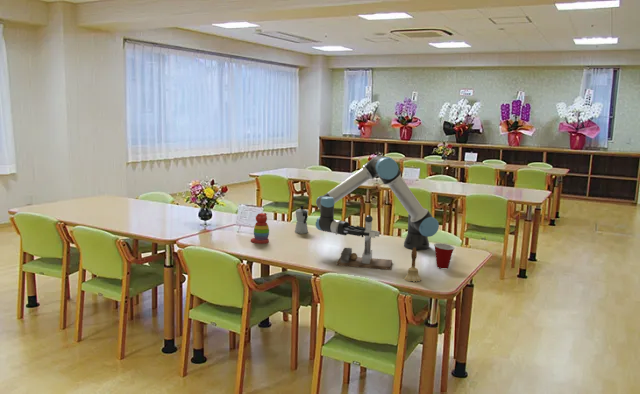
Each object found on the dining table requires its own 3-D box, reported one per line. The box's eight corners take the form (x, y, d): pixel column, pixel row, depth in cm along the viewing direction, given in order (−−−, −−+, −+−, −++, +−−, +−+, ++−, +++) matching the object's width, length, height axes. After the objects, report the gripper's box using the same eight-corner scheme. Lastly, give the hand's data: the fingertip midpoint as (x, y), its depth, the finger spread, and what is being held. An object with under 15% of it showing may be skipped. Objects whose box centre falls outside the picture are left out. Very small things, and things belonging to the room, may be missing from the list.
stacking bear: (265, 239, 338) (265, 211, 335) (272, 242, 330) (273, 213, 327) (249, 241, 332) (249, 212, 330) (256, 244, 324) (257, 215, 321)
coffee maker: (291, 230, 364) (292, 204, 361) (304, 229, 367) (304, 203, 364) (299, 235, 350) (300, 208, 347) (312, 234, 354) (313, 207, 351)
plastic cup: (453, 271, 282) (455, 248, 280) (432, 269, 284) (434, 247, 282) (453, 265, 292) (454, 243, 290) (432, 263, 294) (433, 242, 292)
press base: (391, 262, 294) (392, 250, 293) (390, 269, 281) (390, 257, 280) (340, 258, 300) (341, 246, 298) (336, 265, 286) (337, 253, 285)
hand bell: (402, 276, 269) (404, 245, 267) (418, 277, 270) (420, 245, 268) (406, 282, 261) (408, 250, 259) (423, 282, 262) (425, 250, 259)
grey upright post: (371, 258, 294) (373, 213, 290) (369, 263, 284) (371, 217, 280) (364, 257, 295) (366, 213, 291) (362, 263, 285) (363, 217, 281)
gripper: (349, 231, 305) (384, 239, 291) (331, 236, 292) (368, 244, 278) (349, 218, 304) (385, 225, 289) (332, 223, 291) (368, 230, 277)
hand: (376, 234), depth 284 cm, fingers closed on grey upright post, 3 cm apart
